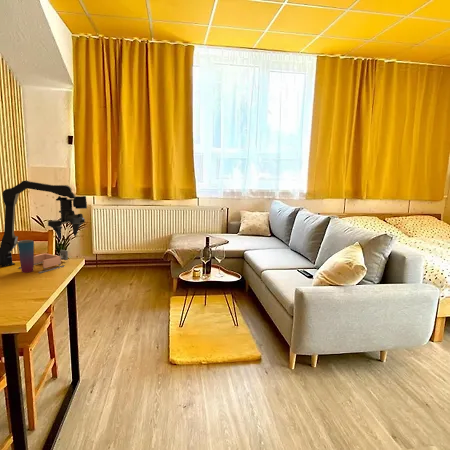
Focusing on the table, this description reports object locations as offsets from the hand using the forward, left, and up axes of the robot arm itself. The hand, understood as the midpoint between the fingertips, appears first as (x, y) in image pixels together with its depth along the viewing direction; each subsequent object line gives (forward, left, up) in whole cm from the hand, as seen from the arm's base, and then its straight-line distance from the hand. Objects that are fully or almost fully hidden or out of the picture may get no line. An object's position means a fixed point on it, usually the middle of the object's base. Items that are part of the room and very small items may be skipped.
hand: (67, 237), depth 180 cm
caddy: (-2, -9, -13) cm, 16 cm away
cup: (-2, -22, -14) cm, 26 cm away
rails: (-2, -14, -14) cm, 20 cm away
